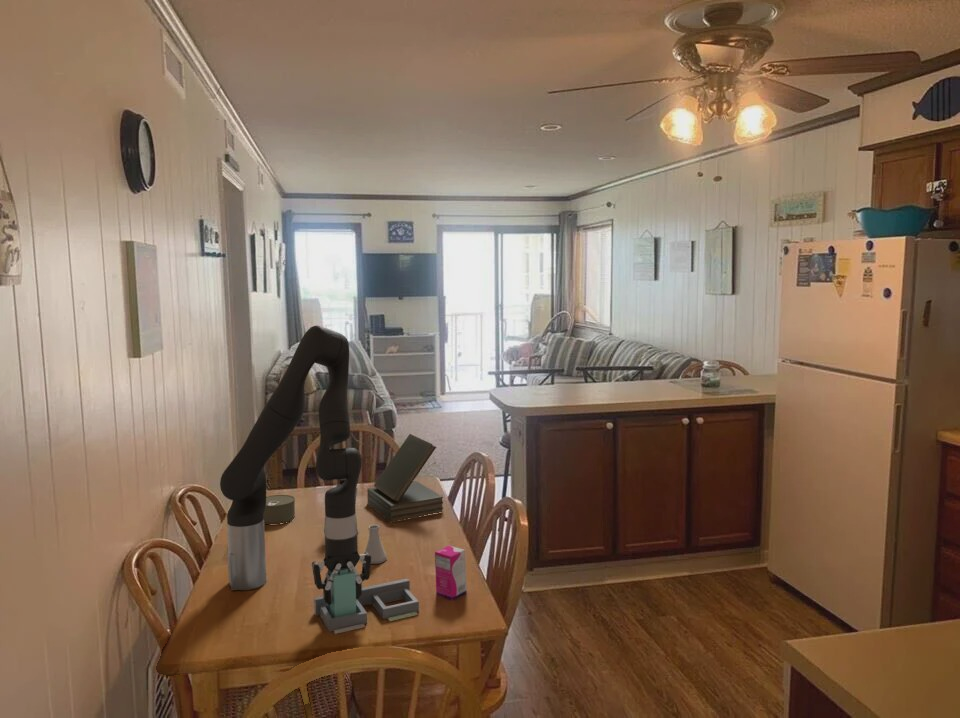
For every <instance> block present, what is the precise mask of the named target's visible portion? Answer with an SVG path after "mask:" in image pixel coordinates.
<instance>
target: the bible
mask: <svg viewBox="0 0 960 718" xmlns="http://www.w3.org/2000/svg"><path fill="white" fill-rule="evenodd" d="M436 449H437V446H435V445H434V444H433V443H431V442H429V441H426V440H424V439H422V438H420V437H418V436H415V435H413V434H411V433H409V434H408V435H407V437H406V438H405V440H404V441H403V443H402V444H401V445H400V447H399V448H398V449H397V451H396V453H395V454H394V456H393V457H392V458H391V460H390V461H389V463H388V464H387V465H386V467H385V468H384V469H383V472H382V473H381V474H380V475H379V477H378V478H377V480H376V481H375V483H374V484H373V487H369V488H368V487H367V490H366V493H367V494H366V495H367V496H366V497H367V505H368V506H369V505H370V506H371V508H372V509H373V508H374V509H375V512H377V511H378V512H379V513H380V515H381V516H382V515H383V516H384V518H385V519H386V520H387V519H388V520H389V522H390V523H391V522H392V523H395V522H394V521H397V522H399V521H398V520H402V521H405V520H404V519H408V518H413V519H416V518H415V517H418V518H420V517H419V516H424V515H428V514H433V513H439V512H442V513H443V510H444V507H443V504H444V501H443V498H444V496H442V495H441V494H439V493H438V492H436V491H434V490H432V489H431V488H429V487H428V486H426V485H424V484H423V483H421V482H419V481H417V480H415V479H416V477H418V475H419V473H420V472H421V471H422V469H423V468H424V466H425V464H426V463H427V462H428V460H429V459H430V457H431V456H432V455H433V453H434V452H435V450H436ZM370 506H369V507H370ZM374 509H373V510H374ZM378 512H377V513H378ZM379 513H378V514H379ZM383 516H382V517H383ZM424 517H425V516H424ZM388 520H387V521H388ZM408 520H409V519H408Z"/></svg>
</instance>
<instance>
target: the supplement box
mask: <svg viewBox="0 0 960 718" xmlns="http://www.w3.org/2000/svg"><path fill="white" fill-rule="evenodd" d="M434 564H435V565H434V567H435V590H436V595H438V596H441V597H444V598H446V599H449V600H452V601H454V600H455V599H457V598H459V597H461V596H462V595H464V594H466V593H467V571H466V569H467V567H466V549H464V548H460V547H456V546H452V545H447V546H445V547H443V548H441V549H438V550H436V551H434Z"/></svg>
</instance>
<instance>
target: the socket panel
mask: <svg viewBox="0 0 960 718" xmlns="http://www.w3.org/2000/svg"><path fill="white" fill-rule="evenodd" d="M410 586H411V584H410V579H409V578H403V579H402V578H401V579H399V580H398V579H397V580H394V581H388V582H384V583H378V584H373V585H370V586H364V587H363V586H362V594H361V596H359V599H356V613H355V614H351V615H346V616H341V617H337V618H331V616H330V605H328V604H327V603H326V602H325V601H324V599H323V595H320V596H316V597H313V603H314V604H313V607H314V611H313V612H314V613H313V614H314V615H315V616H316V617H318V616H320V618H321V620H322V622H323V624H324V625H325V628H326V629H327V630H328V632H329V633H330V632H333V633H334V635H336V634H337V635H338V634H340V633H341V634H342V633H345V632H349V631H355V630H358V629H363V628H366V625H365V624H368V612H367V611H366V610H365V608H364V606H369V605H372V606H373V608H375V610H376V611H377V612H378V614H379V615H380V617H381V618H382V620H388V621H389V622H392V621H393V622H394V621H397V620H402V619H407V618H409V617H414V616H418V612H420V605H419V603H420V601H419V600H418V598H416V597H415V595H414V594H413V593H412V592H411V589H410V588H411V587H410ZM399 600H404V601H405V602H402V603H397V604H393V605H385V604H386V603H392V602H395V601H399ZM363 605H364V606H363Z"/></svg>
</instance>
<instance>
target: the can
mask: <svg viewBox="0 0 960 718" xmlns="http://www.w3.org/2000/svg"><path fill="white" fill-rule="evenodd" d="M295 501H296V498H295V497H294V496H292V495H289V494H288V495H287V494H275V495H268V496H266V507H265V511H264V525H265V524H280V523H286V522H289V521H291V522H293V521H294V520H295V519H296V513H295V511H296V510H295V509H296V508H295V507H296V506H295V504H296V502H295ZM294 518H295V519H294ZM293 519H294V520H293ZM292 520H293V521H292ZM289 523H290V522H289ZM286 524H287V523H286Z"/></svg>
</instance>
